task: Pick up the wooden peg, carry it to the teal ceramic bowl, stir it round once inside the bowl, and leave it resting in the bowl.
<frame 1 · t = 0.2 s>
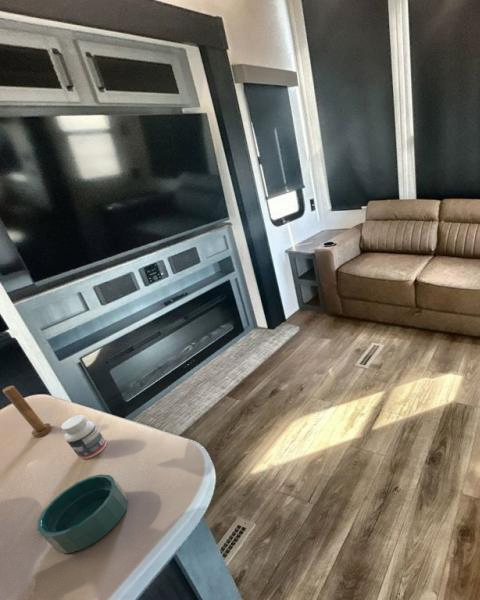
bowl: (93, 521, 66), on the table
pill bottle: (93, 450, 82), on the table
wooden peg: (43, 431, 89), on the table
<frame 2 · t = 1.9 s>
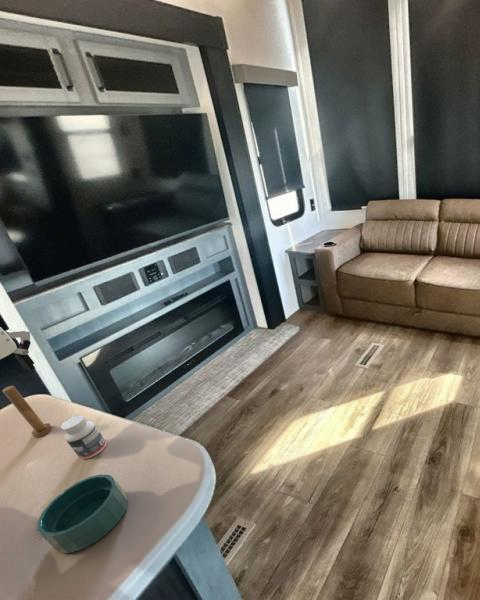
hand: (6, 382, 83), 15 cm above the table, tool pointing down, fingers open, 9 cm apart
nothing on the table moved.
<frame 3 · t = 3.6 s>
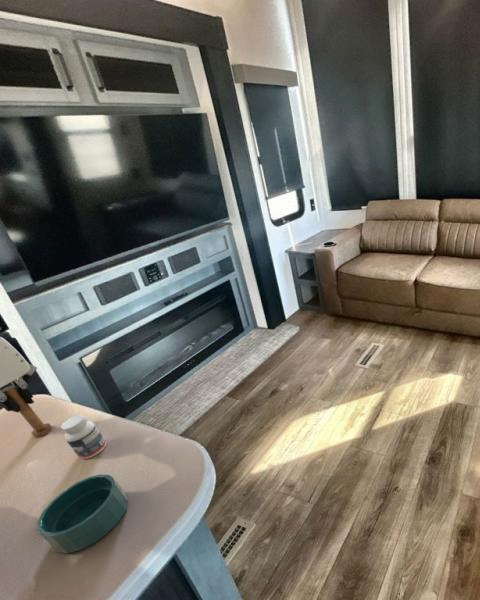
hand: (22, 406, 85), 9 cm above the table, tool pointing down, fingers closed on wooden peg, 2 cm apart
wooden peg: (43, 431, 89), on the table, touching gripper
everything else where it was.
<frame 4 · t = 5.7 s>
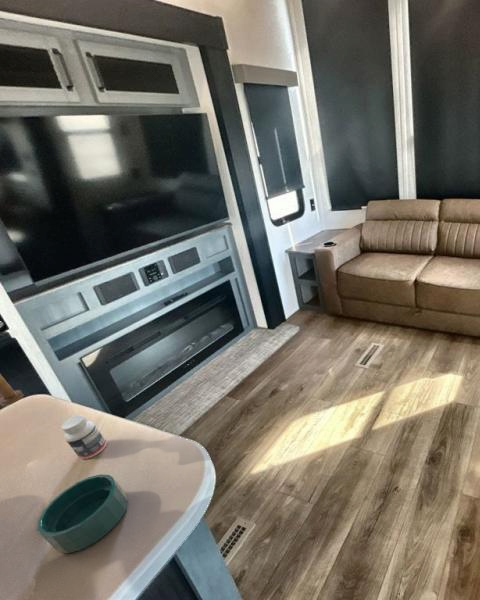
wooden peg: (12, 399, 76), point 16 cm above the table, touching gripper
everything else where it was.
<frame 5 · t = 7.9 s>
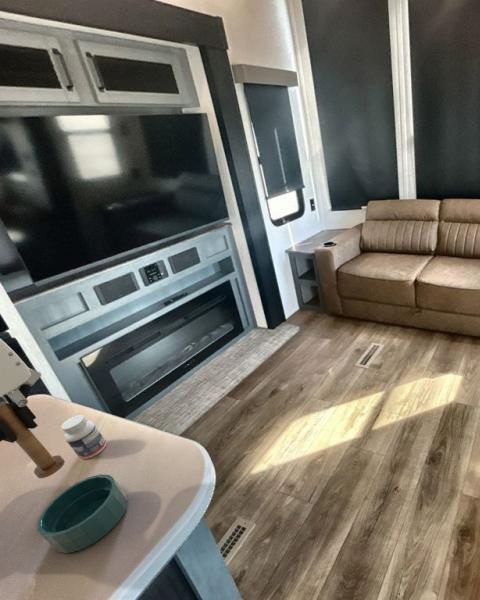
hand: (19, 432, 56), 23 cm above the table, tool pointing down, fingers closed on wooden peg
wooden peg: (51, 468, 60), point 14 cm above the table, touching gripper
everything else where it was.
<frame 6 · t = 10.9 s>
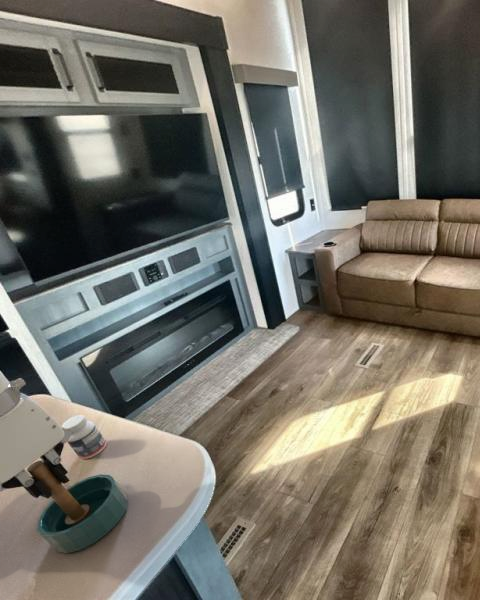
hand: (53, 487, 61), 11 cm above the table, tool pointing down, fingers closed on wooden peg, 2 cm apart
wooden peg: (80, 517, 65), point 2 cm above the table, touching gripper
everything else where it was.
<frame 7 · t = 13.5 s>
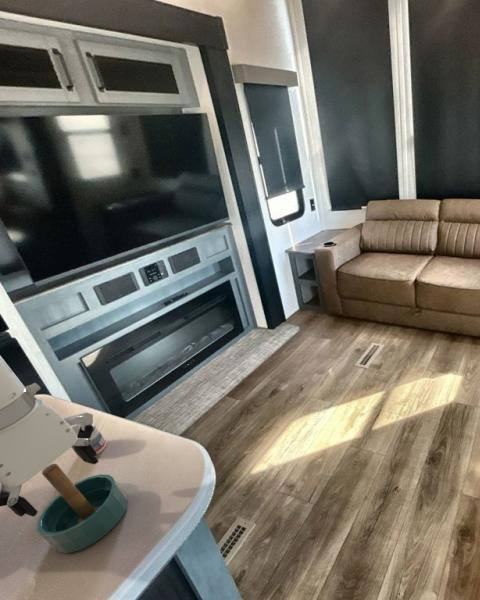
hand: (62, 485, 62), 10 cm above the table, tool pointing down, fingers open, 9 cm apart
wooden peg: (92, 519, 66), point 1 cm above the table, touching bowl
everything else where it was.
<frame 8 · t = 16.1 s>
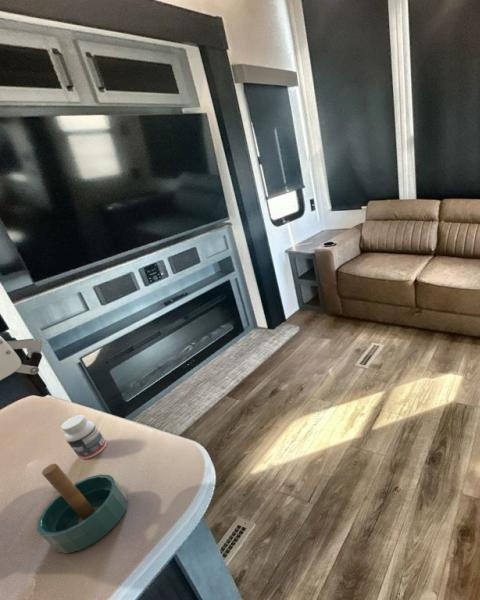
hand: (4, 417, 54), 26 cm above the table, tool pointing down, fingers open, 9 cm apart
nothing on the table moved.
at the end: wooden peg inside the target area in the bowl (0.1 cm from its centre), point 0.6 cm above the bowl's base; the gripper is holding nothing; wooden peg moved 40.3 cm from its start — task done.
